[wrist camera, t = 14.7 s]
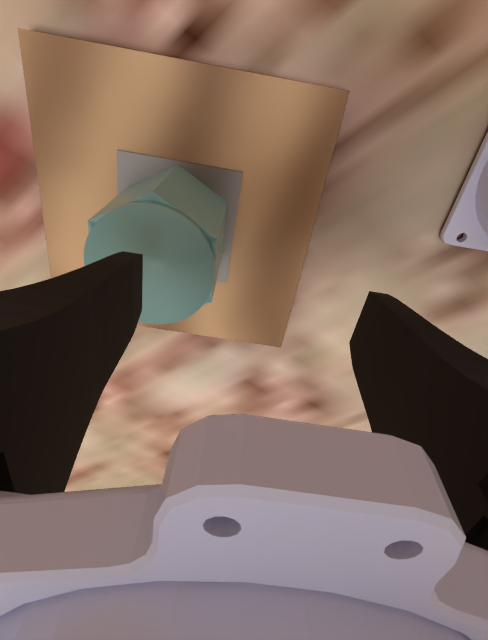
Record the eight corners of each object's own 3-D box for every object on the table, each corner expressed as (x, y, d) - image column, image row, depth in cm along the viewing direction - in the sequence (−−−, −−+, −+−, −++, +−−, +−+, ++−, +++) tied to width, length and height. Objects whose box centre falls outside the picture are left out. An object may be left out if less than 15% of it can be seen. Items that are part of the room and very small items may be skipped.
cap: (196, 288, 22) (177, 347, 17) (104, 227, 20) (54, 275, 15) (250, 218, 19) (247, 265, 15) (152, 143, 18) (112, 168, 13)
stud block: (344, 90, 17) (371, 95, 13) (280, 336, 25) (283, 391, 21) (32, 30, 17) (-50, 15, 12) (64, 303, 24) (20, 353, 20)
